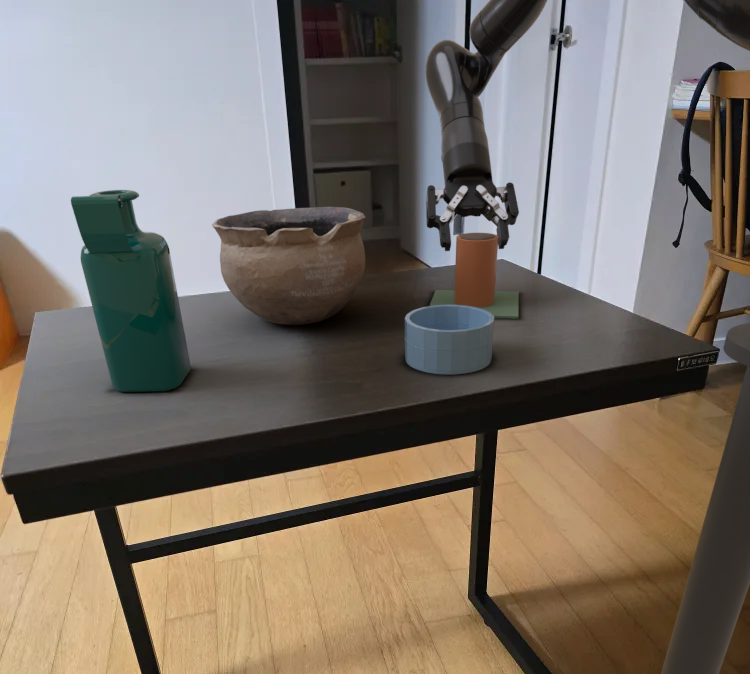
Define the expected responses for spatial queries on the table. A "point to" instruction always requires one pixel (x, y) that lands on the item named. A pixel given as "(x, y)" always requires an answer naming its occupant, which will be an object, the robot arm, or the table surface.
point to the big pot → (449, 339)
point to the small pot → (475, 269)
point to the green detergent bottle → (131, 294)
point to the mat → (501, 308)
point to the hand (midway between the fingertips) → (475, 247)
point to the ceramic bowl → (292, 261)
